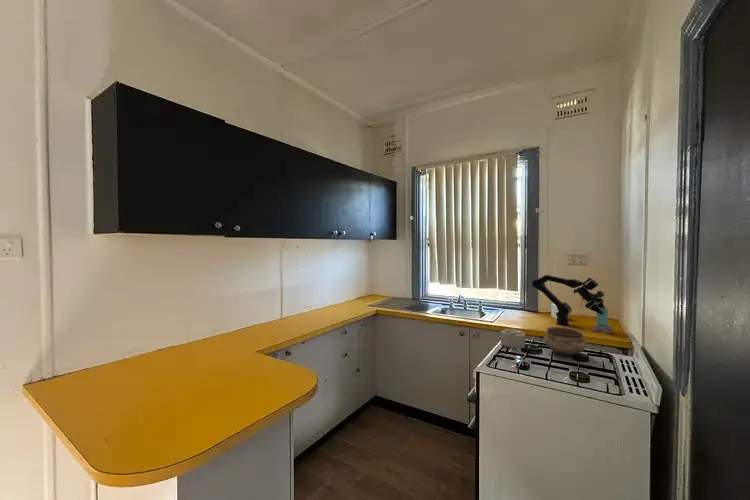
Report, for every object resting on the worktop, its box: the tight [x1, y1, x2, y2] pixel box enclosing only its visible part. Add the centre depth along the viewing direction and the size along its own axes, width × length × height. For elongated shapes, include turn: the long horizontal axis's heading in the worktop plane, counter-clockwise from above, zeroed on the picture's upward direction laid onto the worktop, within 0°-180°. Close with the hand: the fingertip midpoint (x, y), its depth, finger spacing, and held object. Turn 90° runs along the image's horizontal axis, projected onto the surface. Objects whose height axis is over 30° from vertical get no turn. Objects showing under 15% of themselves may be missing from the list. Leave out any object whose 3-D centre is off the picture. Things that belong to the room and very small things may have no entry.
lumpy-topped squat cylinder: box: [499, 328, 526, 350], centre depth 180 cm, size 10×13×9 cm
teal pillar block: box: [596, 307, 609, 326], centre depth 207 cm, size 5×5×11 cm
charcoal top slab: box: [592, 322, 612, 331], centre depth 207 cm, size 8×8×2 cm
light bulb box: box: [550, 303, 559, 320], centre depth 244 cm, size 11×7×11 cm, turn 179°
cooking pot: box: [543, 326, 587, 357], centre depth 165 cm, size 25×19×12 cm
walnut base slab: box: [590, 327, 614, 335], centre depth 206 cm, size 10×10×2 cm
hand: (604, 313), depth 205 cm, fingers open, 9 cm apart
